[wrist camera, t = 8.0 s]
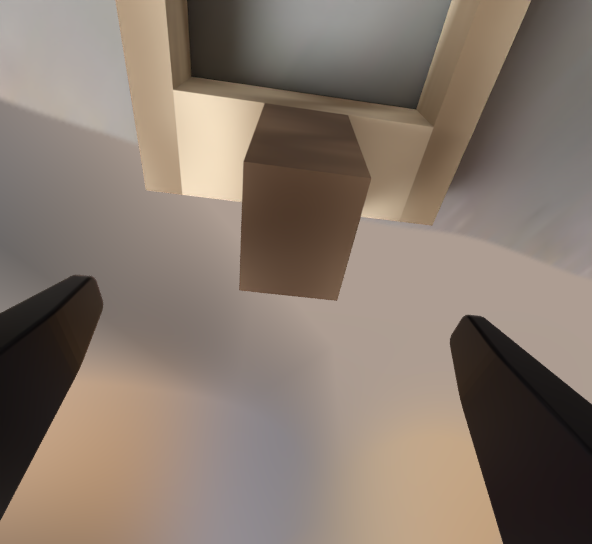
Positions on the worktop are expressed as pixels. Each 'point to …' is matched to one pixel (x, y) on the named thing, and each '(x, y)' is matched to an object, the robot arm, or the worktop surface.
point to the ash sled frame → (307, 142)
